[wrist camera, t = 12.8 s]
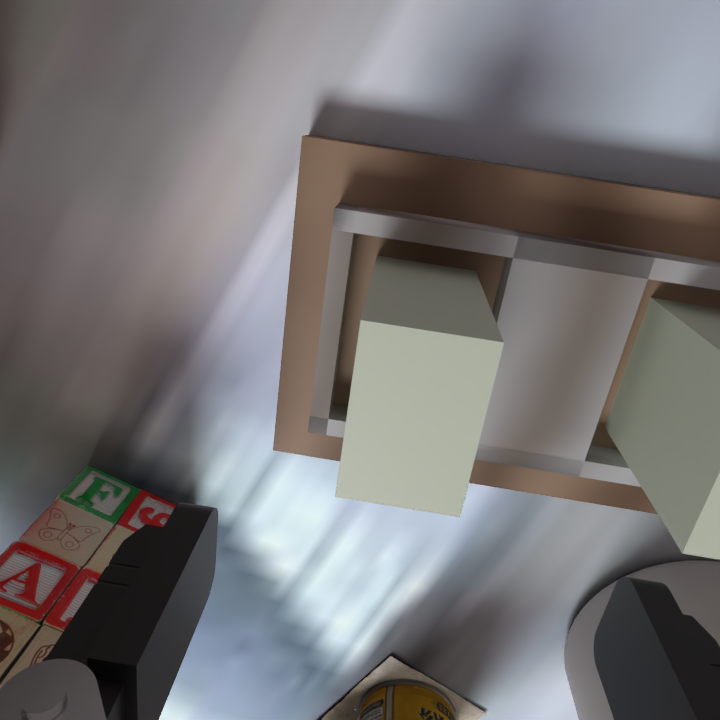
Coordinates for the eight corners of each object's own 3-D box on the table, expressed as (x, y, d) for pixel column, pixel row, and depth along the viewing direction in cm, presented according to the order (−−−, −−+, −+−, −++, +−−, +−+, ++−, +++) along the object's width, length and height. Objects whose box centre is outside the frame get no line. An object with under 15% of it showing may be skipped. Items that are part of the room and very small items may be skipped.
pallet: (279, 434, 29) (265, 467, 26) (308, 134, 23) (294, 137, 20) (723, 507, 28) (756, 549, 26) (861, 219, 23) (923, 233, 20)
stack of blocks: (87, 731, 39) (-43, 979, 28) (-1, 696, 39) (-171, 935, 27) (196, 509, 31) (73, 732, 20) (87, 459, 31) (-104, 661, 19)
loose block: (357, 387, 26) (335, 496, 18) (376, 255, 23) (360, 320, 16) (446, 402, 26) (459, 517, 18) (475, 270, 23) (504, 342, 16)
